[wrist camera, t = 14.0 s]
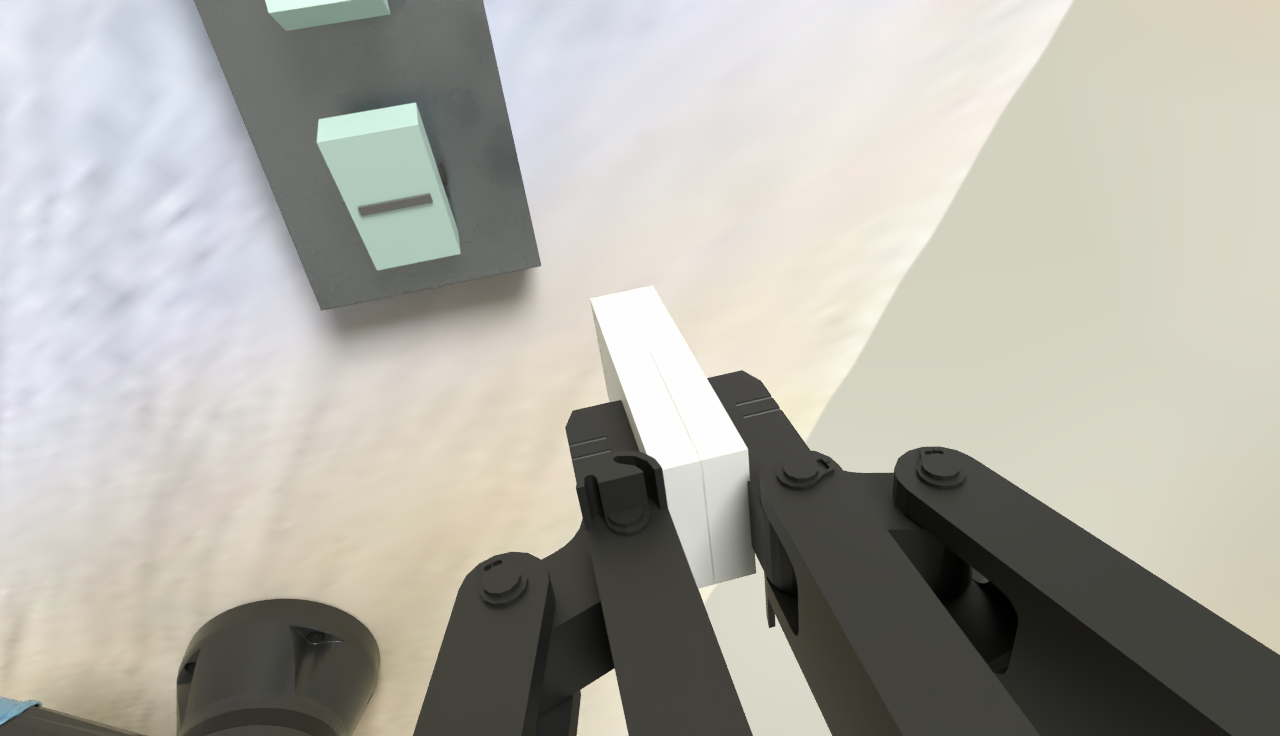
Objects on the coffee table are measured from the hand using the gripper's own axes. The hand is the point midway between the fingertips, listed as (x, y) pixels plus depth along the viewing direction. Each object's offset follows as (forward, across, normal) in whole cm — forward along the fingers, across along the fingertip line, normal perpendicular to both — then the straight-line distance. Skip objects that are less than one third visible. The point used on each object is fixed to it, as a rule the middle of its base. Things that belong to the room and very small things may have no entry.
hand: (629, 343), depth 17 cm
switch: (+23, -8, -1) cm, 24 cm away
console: (+30, -8, +5) cm, 32 cm away
